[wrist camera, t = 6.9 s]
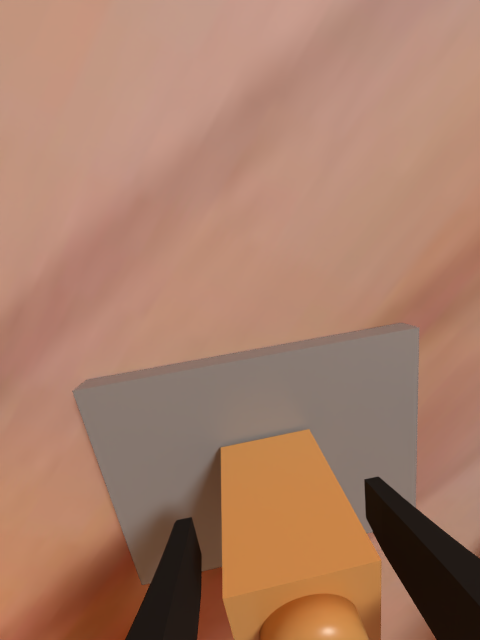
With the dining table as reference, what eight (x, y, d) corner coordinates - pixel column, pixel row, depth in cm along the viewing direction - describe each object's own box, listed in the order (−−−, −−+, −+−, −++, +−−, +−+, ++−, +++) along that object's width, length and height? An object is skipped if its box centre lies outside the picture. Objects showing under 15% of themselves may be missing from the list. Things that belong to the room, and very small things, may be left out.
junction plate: (402, 322, 11) (496, 348, 8) (401, 504, 14) (471, 593, 10) (86, 380, 11) (8, 442, 7) (147, 562, 13) (117, 683, 9)
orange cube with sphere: (309, 429, 11) (405, 604, 5) (315, 496, 12) (400, 698, 6) (220, 447, 11) (222, 649, 5) (235, 514, 12) (251, 738, 6)
